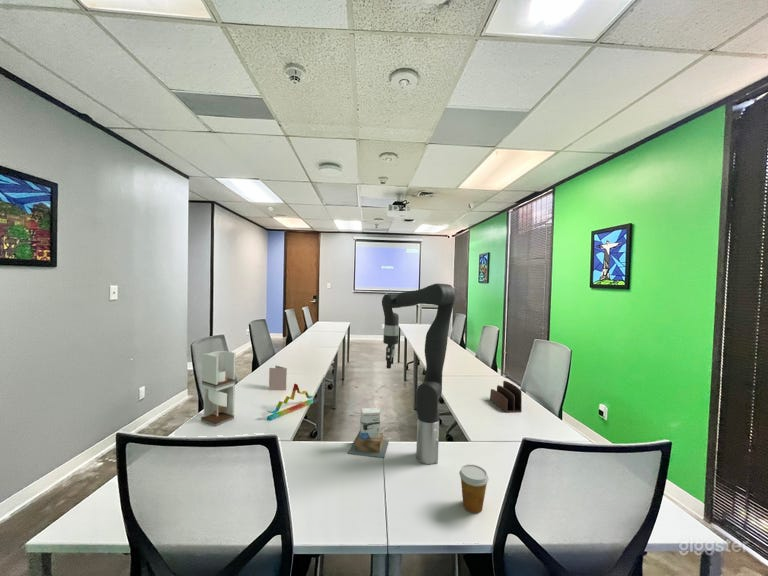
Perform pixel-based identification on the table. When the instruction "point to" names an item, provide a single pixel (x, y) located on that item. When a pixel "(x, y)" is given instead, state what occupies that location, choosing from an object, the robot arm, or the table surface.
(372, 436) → the ink box
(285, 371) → the greeting card
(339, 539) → the table surface
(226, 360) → the tiered shelf stand
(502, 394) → the letter holder
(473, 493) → the disposable coffee cup
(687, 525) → the table surface
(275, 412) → the chart
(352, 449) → the pad
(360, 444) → the open cardboard box
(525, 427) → the table surface
